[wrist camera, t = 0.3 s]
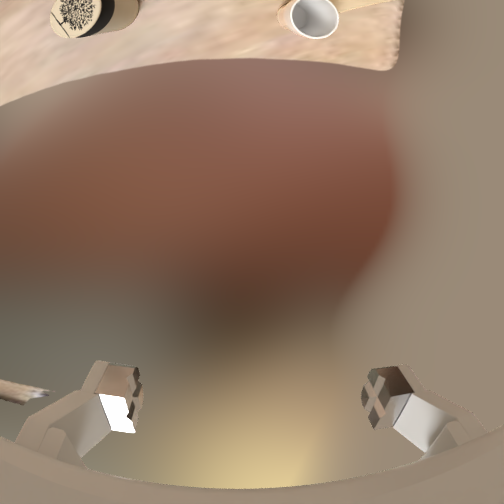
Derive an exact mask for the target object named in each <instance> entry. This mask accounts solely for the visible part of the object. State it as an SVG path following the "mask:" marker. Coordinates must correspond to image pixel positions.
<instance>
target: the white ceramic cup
mask: <svg viewBox="0 0 504 504" xmlns="http://www.w3.org/2000/svg"><path fill="white" fill-rule="evenodd" d="M277 20H278V22H279V24H280V25H281V26H282V27H283V28H285V29H287V30H290V31H291V32H293V33H295V34H297V35H299V36H302V37H305V38H311V39H321V38H325V37H327V36H329V35H331V34H332V33H333V32H334V31H335V30H336V28H337V26H338V23H339V14H338V11H337V9H336V7H335V6H334V4H333V3H332V2H331V1H329V0H291V1H290V2H289V3H287V4H286V5H284V6H282V7H281V8H280V9H279V10H278V13H277Z"/></svg>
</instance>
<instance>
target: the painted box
mask: <svg viewBox="0 0 504 504" xmlns="http://www.w3.org/2000/svg"><path fill="white" fill-rule="evenodd" d="M329 1H331V2H332V3H333V4H334V6H335V7H336V9H337V11H338V13H342V12H345V11H349V10H353V9H357V8H361V7H365V6H369V5H373V4H378V3H383V2H388V1H393V0H329Z"/></svg>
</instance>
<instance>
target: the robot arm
mask: <svg viewBox="0 0 504 504" xmlns="http://www.w3.org/2000/svg"><path fill="white" fill-rule="evenodd" d="M139 376H140V372H139V368H138V367H135V366H129V365H123V364H117V363H111V362H110V363H109V362H104V361H99V360H97V361H96V362H95V363H94V365H93V366H92V368H91V370H90V372H89V374H88V376H87V378H86V380H85V382H84V384H83V386H82V388H81V390H80V391H79V390H75V391H74V392H72V393H70V394H69V395H67V396H65V397H63V398H62V399H60V400H58V401H56V402H55V403H53V404H51V405H49V406H47V407H46V408H44V409H42V410H40V411H39V412H37V413H35V414H33V415H31V416H30V417H28V418H27V420H26V422H25V424H24V426H23V428H22V429H21V431H20V433H19V435H18V437H17V439H16V441H15V443H14V442H12V441H10V440H7V439H5V438H3V437H1V436H0V504H504V424H503V425H502V426H500V427H498V428H496V429H494V430H492V431H490V432H488V433H487V431H486V430H485V429H484V427H483V426H482V424H481V423H480V421H479V420H478V419H477V417H476V416H475V415H474V413H473V412H470V411H469V410H466V409H465V408H463V407H461V406H459V405H457V404H455V403H453V402H451V401H449V400H447V399H446V398H444V397H442V396H440V395H438V394H436V393H434V392H432V391H430V390H425V388H424V387H423V385H422V384H421V382H420V381H419V379H418V378H417V376H416V375H415V374H414V372H413V371H412V369H411V368H410V366H409V365H407V364H403V365H397V366H390V367H382V368H374V369H371V371H370V372H369V374H368V379H369V381H368V382H367V383H366V384H365V385H364V386H363V389H362V392H361V400H362V405H363V407H364V409H366V410H367V411H368V412H370V414H369V416H368V418H369V420H370V423H371V425H372V427H373V429H374V430H376V429H382V428H388V427H393V426H394V427H393V428H394V429H396V430H397V431H398V432H399V433H401V434H402V435H403V436H404V437H406V438H407V439H408V440H410V441H411V442H412V443H413V444H415V445H416V446H417V447H418V448H420V449H421V450H422V451H424V452H425V454H424V455H423V456H422V457H421V459H420V460H419V461H416V462H413V463H410V464H407V465H403V466H400V467H396V468H393V469H389V470H385V471H381V472H377V473H373V474H368V475H364V476H359V477H354V478H349V479H344V480H338V481H332V482H326V483H319V484H311V485H302V486H292V487H280V488H264V489H263V488H261V489H215V488H196V487H185V486H175V485H167V484H159V483H152V482H146V481H140V480H134V479H129V478H124V477H119V476H115V475H110V474H106V473H102V472H98V471H94V470H90V469H87V467H86V466H85V464H84V463H83V461H82V460H81V457H82V456H84V455H85V454H86V453H87V452H88V451H89V450H90V449H92V447H94V446H95V445H96V444H97V443H98V442H99V441H101V440H102V439H103V438H104V437H105V436H106V435H107V434H108V433H110V431H112V430H111V429H113V430H119V431H125V432H132V433H135V430H136V426H137V423H138V419H139V418H138V415H137V412H138V411H139V410H141V407H142V404H143V387H142V384H141V383H140V382H139V381H138V380H139Z"/></svg>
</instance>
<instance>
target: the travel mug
mask: <svg viewBox="0 0 504 504" xmlns="http://www.w3.org/2000/svg"><path fill="white" fill-rule="evenodd" d="M138 10H139V5H138V1H137V0H56V2H55V3H54V5H53V7H52V10H51V13H50V24H51V27H52V29H53V31H54V32H55V33H56V34H57V35H59V36H61V37H64V38H75V37H77V38H80V37H86V36H91V35H96V34H101V33H106V32H112V31H118V30H122V29H124V28H126V27H127V26H129V25H130V24H131V23H132V22H133V21H134V20H135V18H136V16H137V14H138Z"/></svg>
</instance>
